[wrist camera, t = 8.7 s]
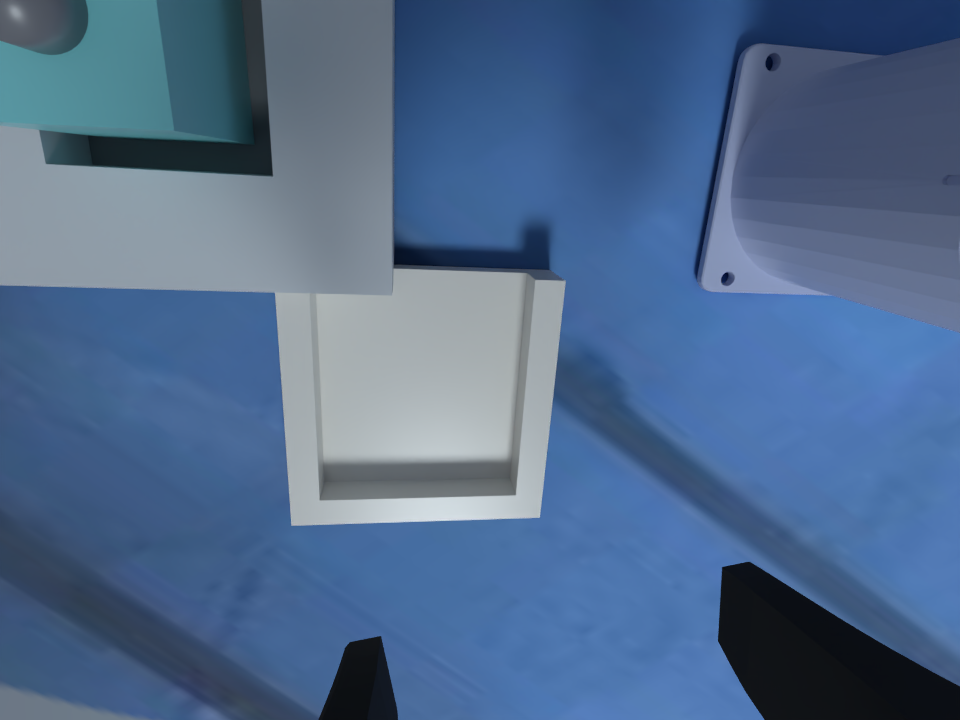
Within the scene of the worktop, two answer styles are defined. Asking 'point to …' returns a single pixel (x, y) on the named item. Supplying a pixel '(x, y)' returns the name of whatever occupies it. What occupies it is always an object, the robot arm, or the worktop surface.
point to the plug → (126, 69)
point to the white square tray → (420, 396)
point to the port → (228, 177)
